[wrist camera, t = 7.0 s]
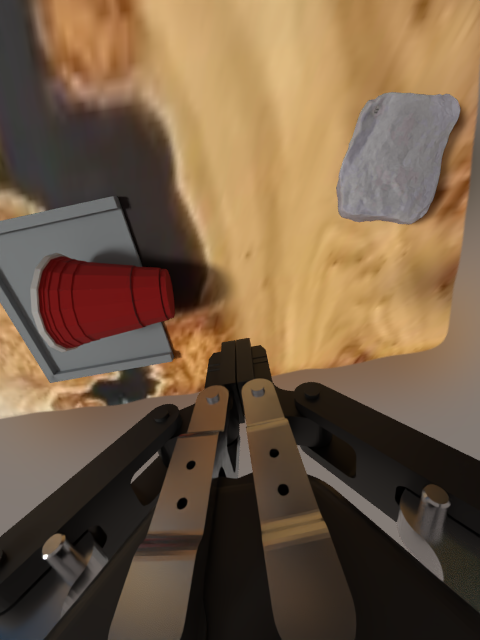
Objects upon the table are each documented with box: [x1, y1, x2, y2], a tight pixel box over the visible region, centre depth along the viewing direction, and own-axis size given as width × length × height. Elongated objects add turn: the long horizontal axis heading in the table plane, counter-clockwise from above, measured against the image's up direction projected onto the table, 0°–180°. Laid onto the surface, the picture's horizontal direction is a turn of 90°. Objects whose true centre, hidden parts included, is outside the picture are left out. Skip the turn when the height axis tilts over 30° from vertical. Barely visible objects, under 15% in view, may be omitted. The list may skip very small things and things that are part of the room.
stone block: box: [336, 92, 460, 224], centre depth 27 cm, size 12×5×10 cm
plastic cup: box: [30, 253, 175, 352], centre depth 29 cm, size 11×11×12 cm
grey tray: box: [0, 196, 174, 383], centre depth 34 cm, size 19×22×1 cm
